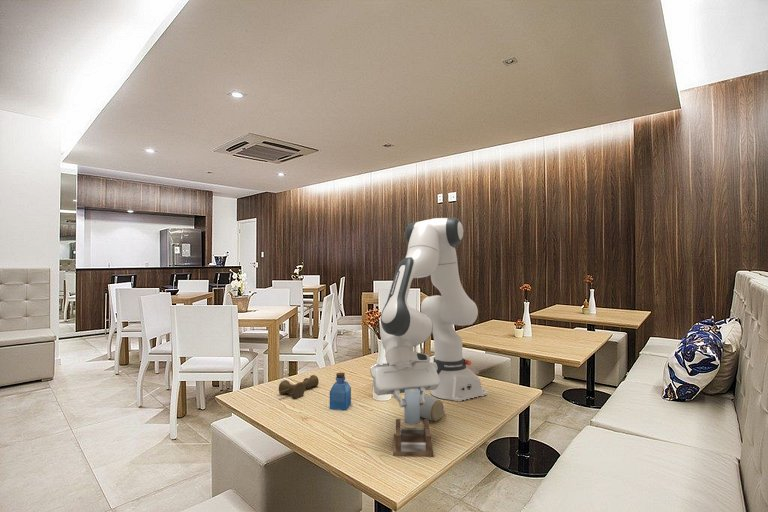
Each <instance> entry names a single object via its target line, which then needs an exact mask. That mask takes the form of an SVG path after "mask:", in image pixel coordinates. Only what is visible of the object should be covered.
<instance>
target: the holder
mask: <svg viewBox="0 0 768 512" xmlns="http://www.w3.org/2000/svg"><path fill="white" fill-rule="evenodd" d="M429 421H430V420H428V419H425V418H423V427H401V426H402V425H401V418H395V433H393V451H392V453H393V454H392V456H395V457H397V456H399V457H434V455H435V454H434V452H435V451H434V447H433V442H432V432H431V428H430V427H431V425H430V422H429Z"/></svg>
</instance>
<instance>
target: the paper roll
mask: <svg viewBox="0 0 768 512" xmlns="http://www.w3.org/2000/svg"><path fill="white" fill-rule="evenodd" d="M404 399H405V400H406V401H405V402H406V407H403V408H404V414H403V415H404V417H403V418H404V419H403V421H404V423H405V424H406V425H409V426H412V425H413V426H416V425H419V424H420V423H421V421H420V419H421V417H420V390H419V389H418V388H406V389H405V393H404Z"/></svg>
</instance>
